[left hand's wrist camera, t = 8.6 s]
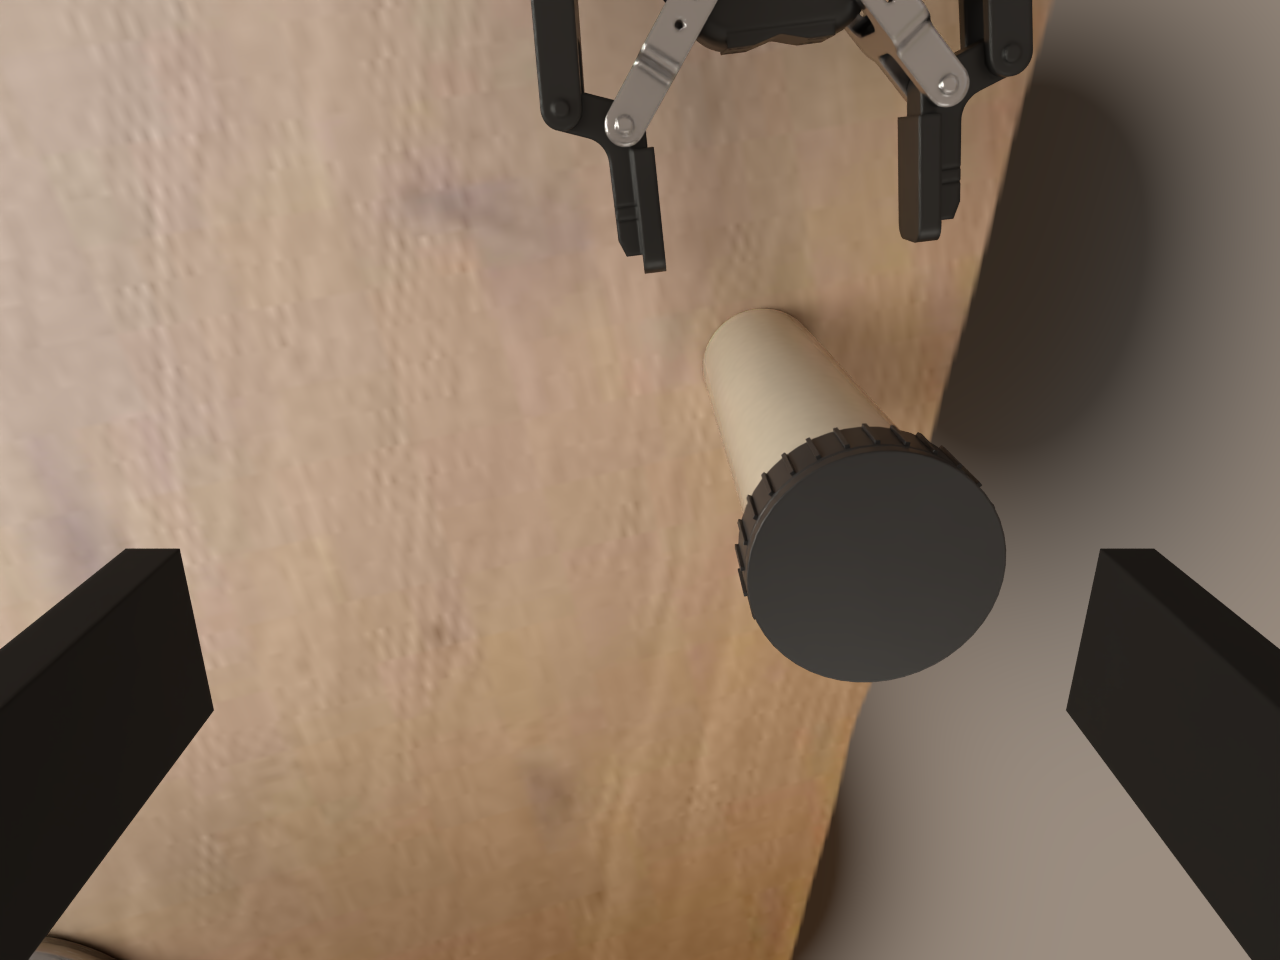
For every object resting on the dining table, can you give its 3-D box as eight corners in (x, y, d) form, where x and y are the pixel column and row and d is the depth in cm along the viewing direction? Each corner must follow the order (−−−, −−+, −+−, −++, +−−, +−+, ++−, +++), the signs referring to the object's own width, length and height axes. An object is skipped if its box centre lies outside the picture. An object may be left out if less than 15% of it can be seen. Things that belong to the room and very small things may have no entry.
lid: (749, 414, 19) (760, 438, 18) (1004, 430, 19) (1037, 456, 18) (723, 637, 21) (730, 678, 20) (953, 650, 22) (979, 692, 20)
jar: (708, 304, 35) (776, 455, 18) (825, 311, 35) (1001, 469, 18) (697, 417, 37) (750, 651, 20) (809, 424, 37) (956, 662, 20)
